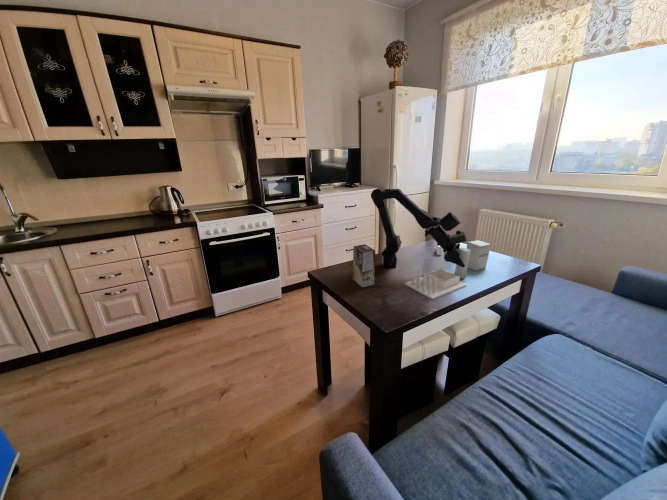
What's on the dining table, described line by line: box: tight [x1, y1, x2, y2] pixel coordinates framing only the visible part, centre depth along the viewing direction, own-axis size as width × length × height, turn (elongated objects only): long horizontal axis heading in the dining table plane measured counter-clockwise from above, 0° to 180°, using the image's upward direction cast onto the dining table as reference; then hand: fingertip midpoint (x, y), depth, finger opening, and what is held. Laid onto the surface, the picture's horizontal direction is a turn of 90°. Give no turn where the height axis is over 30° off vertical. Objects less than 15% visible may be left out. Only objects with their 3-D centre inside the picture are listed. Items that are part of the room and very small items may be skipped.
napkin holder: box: [436, 244, 443, 256], centre depth 153 cm, size 15×11×6 cm
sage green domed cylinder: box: [454, 247, 470, 280], centre depth 122 cm, size 5×5×13 cm
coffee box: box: [352, 243, 376, 288], centre depth 118 cm, size 9×6×16 cm
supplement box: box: [465, 239, 491, 271], centre depth 132 cm, size 7×7×13 cm
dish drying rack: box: [404, 268, 467, 300], centre depth 116 cm, size 21×15×7 cm
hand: (464, 263), depth 122 cm, fingers open, 8 cm apart
